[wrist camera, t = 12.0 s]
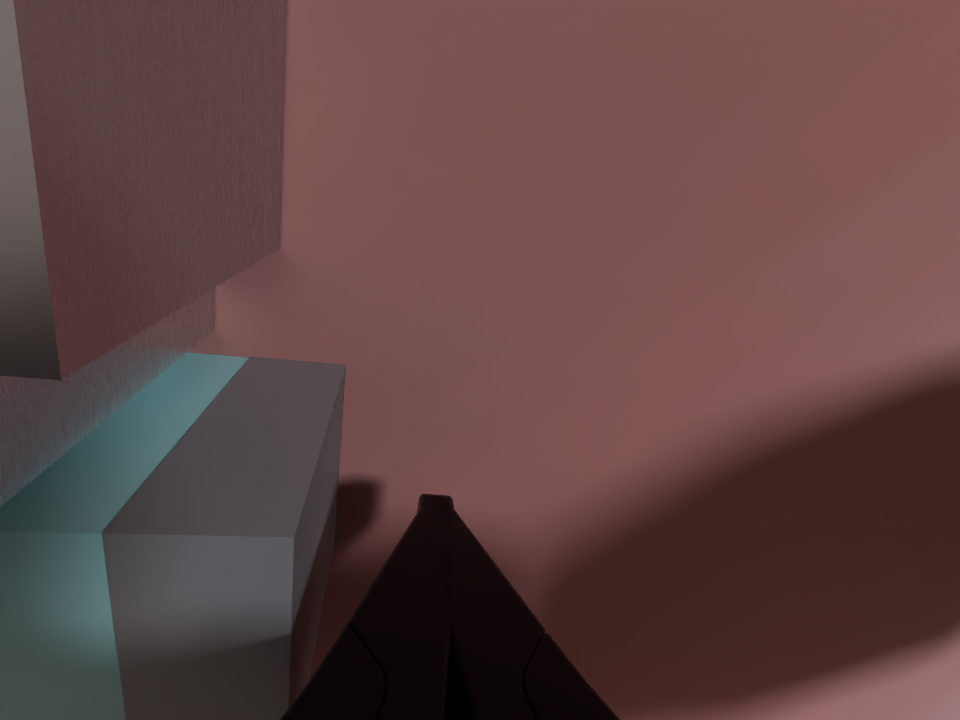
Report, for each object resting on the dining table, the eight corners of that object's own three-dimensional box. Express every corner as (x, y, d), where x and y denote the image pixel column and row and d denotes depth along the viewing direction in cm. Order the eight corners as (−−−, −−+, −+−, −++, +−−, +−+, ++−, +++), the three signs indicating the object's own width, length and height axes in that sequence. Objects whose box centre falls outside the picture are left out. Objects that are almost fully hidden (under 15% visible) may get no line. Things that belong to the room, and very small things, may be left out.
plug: (345, 364, 9) (293, 538, 5) (333, 546, 10) (285, 810, 6) (-143, 321, 7) (-846, 512, 3) (-83, 538, 9) (-529, 873, 5)
